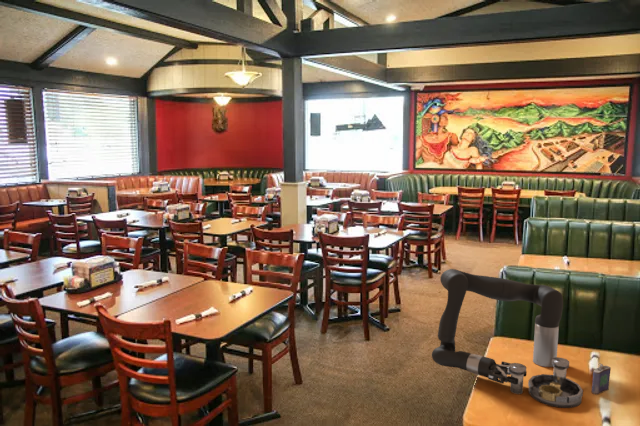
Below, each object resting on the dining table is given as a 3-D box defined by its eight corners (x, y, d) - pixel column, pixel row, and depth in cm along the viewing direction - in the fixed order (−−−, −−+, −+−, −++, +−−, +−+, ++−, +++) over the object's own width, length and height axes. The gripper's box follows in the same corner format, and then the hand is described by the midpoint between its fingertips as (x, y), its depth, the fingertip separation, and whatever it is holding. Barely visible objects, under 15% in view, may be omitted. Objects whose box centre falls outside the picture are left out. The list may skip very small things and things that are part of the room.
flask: (596, 395, 190) (598, 368, 188) (588, 392, 192) (590, 365, 191) (610, 389, 195) (612, 362, 193) (602, 386, 197) (604, 360, 196)
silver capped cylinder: (511, 385, 197) (512, 361, 196) (527, 390, 194) (528, 365, 192) (505, 391, 193) (506, 366, 192) (521, 396, 189) (522, 371, 188)
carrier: (537, 379, 203) (539, 351, 201) (587, 394, 191) (589, 363, 189) (521, 396, 189) (523, 366, 187) (573, 413, 177) (575, 381, 176)
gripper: (473, 362, 196) (515, 375, 185) (488, 351, 207) (529, 362, 196) (472, 380, 197) (514, 394, 186) (487, 368, 208) (528, 380, 197)
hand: (522, 377), depth 191 cm, fingers open, 8 cm apart
